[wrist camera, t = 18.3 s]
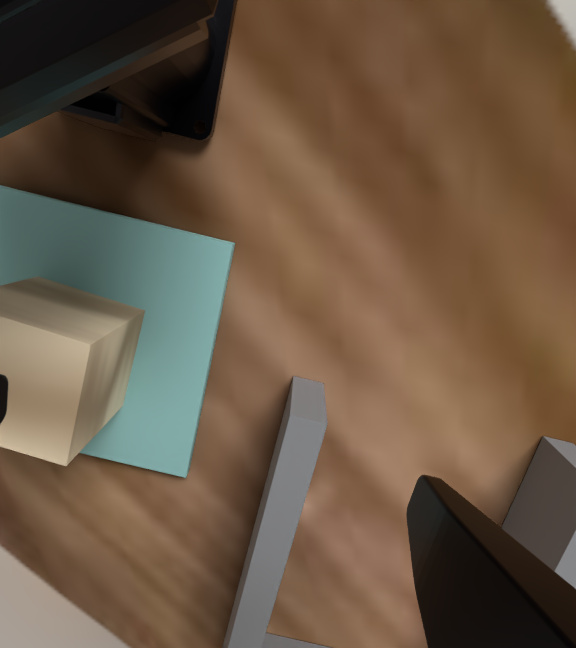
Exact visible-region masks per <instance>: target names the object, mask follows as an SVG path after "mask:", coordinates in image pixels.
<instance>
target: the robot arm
mask: <svg viewBox="0 0 576 648" xmlns="http://www.w3.org/2000/svg"><path fill="white" fill-rule="evenodd" d="M236 3H237V0H0V138H2V137H4V136H6V135H8V134H10V133H12V132H14V131H16V130H18V129H20V128H22V127H25V126H27V125H29V124H31V123H33V122H35V121H37V120H39V119H41V118H43V117H45V116H47V115H49V114H52V113H54V112H56V111H57V112H60V113H63V114H65V115H68V116H70V117H73V118H75V119H78V120H81V121H83V122H86V123H88V124H91V125H94V126H96V127H99V128H103V129H107V130H111V131H115V132H119V133H123V134H127V135H131V136H135V137H139V138H143V139H147V140H151V141H155V142H156V141H158V140H159V139H161V138H162V132H164V133H168V134H172V135H176V136H180V137H184V138H188V139H192V140H196V141H203V142H205V141H207V140H209V139H210V138H211V137H212V135H213V132H214V128H215V122H216V116H217V111H218V105H219V99H220V94H221V88H222V82H223V77H224V71H225V65H226V60H227V54H228V48H229V43H230V37H231V31H232V26H233V20H234V14H235V9H236ZM199 122H204V123H205V125H206V129H205V131H204V132H203V133H202V134H198V133H197V131H196V125H197V124H198V123H199ZM8 386H9V382H8V378H7V377H6V376H5V375H2V374H0V424H1V423H2V421H3V420H4V418H5V416H6V412H7V402H8ZM407 525H408V534H409V543H410V551H411V560H412V569H413V577H414V584H415V590H416V595H417V600H418V604H419V609H420V613H421V618H422V622H423V627H424V631H425V636H426V640H427V645H428V648H576V589H575V588H574V587H573V586H572V585H570V584H569V583H568V582H567V581H566V580H564V579H563V578H562V577H561V576H559V575H558V574H557V573H556V572H555V571H553V570H552V569H551V568H550V567H548V566H547V565H546V564H545V563H543V562H542V561H541V560H540V559H539V558H537V557H536V556H535V555H534V554H532V553H531V552H530V551H529V550H528V549H526V548H525V547H524V546H523V545H521V544H520V543H519V542H518V541H516V540H515V539H514V538H513V537H512V536H510V535H509V534H508V533H507V532H505V531H504V530H503V529H502V528H500V527H499V526H498V525H497V524H496V523H494V522H493V521H492V520H491V519H489V518H488V517H487V516H486V515H485V514H483V513H482V512H481V511H480V510H478V509H477V508H476V507H475V506H473V505H472V504H471V503H470V502H469V501H467V500H466V499H465V498H464V497H462V496H461V495H460V494H459V493H458V492H456V491H455V490H454V489H453V488H451V487H450V486H449V485H448V484H446V483H445V482H444V481H443V480H441V479H440V478H436V477H432V476H428V475H421V476H420V477H419V478H418V480H417V483H416V485H415V488H414V491H413V493H412V496H411V499H410V501H409V504H408V507H407Z"/></svg>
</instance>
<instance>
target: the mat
mask: <svg viewBox="0 0 576 648" xmlns="http://www.w3.org/2000/svg"><path fill="white" fill-rule="evenodd" d="M234 247H235V243H233V242H229V241H225V240H221V239H216V238H212V237H208V236H204V235H200V234H196V233H192V232H188V231H184V230H180V229H176V228H172V227H168V226H164V225H160V224H156V223H152V222H148V221H144V220H140V219H135V218H131V217H127V216H123V215H119V214H115V213H111V212H107V211H103V210H99V209H95V208H91V207H87V206H83V205H79V204H75V203H71V202H67V201H63V200H59V199H54V198H50V197H46V196H42V195H38V194H34V193H30V192H26V191H22V190H18V189H14V188H10V187H6V186H2V185H0V286H1V285H5V284H9V283H13V282H17V281H21V280H25V279H29V278H33V277H37V276H39V277H42V278H45V279H48V280H51V281H54V282H58V283H61V284H64V285H67V286H70V287H73V288H76V289H80V290H83V291H86V292H89V293H92V294H95V295H98V296H102V297H105V298H108V299H111V300H114V301H117V302H120V303H123V304H127V305H130V306H133V307H136V308H139V309H142V310H145V314H144V318H143V322H142V327H141V331H140V335H139V339H138V344H137V348H136V352H135V357H134V361H133V365H132V369H131V374H130V378H129V382H128V386H127V391H126V395H125V399H124V404H123V406H122V407H121V408H120V409H119V411H118V412H117V413H116V414H115V415H114V416H113V417H112V418H111V419H110V420H109V421H108V422H107V423H106V424H105V425H104V427H103V428H102V429H101V430H100V431H99V432H98V433H97V434H96V435H95V436H94V437H93V438H92V439H91V440H90V441H89V443H88V444H87V445H86V446H85V447H84V448H83V449H82V450H81V451H80V452H79V453H83V454H87V455H91V456H95V457H100V458H104V459H108V460H112V461H117V462H121V463H125V464H129V465H134V466H138V467H142V468H146V469H151V470H155V471H159V472H163V473H168V474H172V475H176V476H180V477H185V478H186V477H187V474H188V472H189V469H190V464H191V459H192V454H193V449H194V444H195V439H196V434H197V430H198V425H199V420H200V415H201V410H202V405H203V400H204V395H205V390H206V385H207V380H208V375H209V370H210V365H211V361H212V356H213V351H214V346H215V341H216V336H217V331H218V326H219V321H220V316H221V311H222V306H223V301H224V296H225V292H226V287H227V282H228V277H229V272H230V267H231V262H232V257H233V252H234Z"/></svg>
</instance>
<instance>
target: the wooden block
mask: <svg viewBox="0 0 576 648" xmlns="http://www.w3.org/2000/svg"><path fill="white" fill-rule="evenodd" d="M144 314H145V310H142V309H139V308H136V307H133V306H130V305H127V304H123V303H120V302H117V301H114V300H111V299H108V298H105V297H102V296H98V295H95V294H92V293H89V292H86V291H83V290H80V289H76V288H73V287H70V286H67V285H64V284H61V283H58V282H54V281H51V280H48V279H45V278H42V277H39V276H37V277H33V278H29V279H25V280H21V281H17V282H13V283H9V284H5V285H1V286H0V374H2V375H5V376H6V377H7V378H8V382H9V386H8V402H7V412H6V416H5V418H4V420H3V421H2V423H1V424H0V447H4V448H7V449H10V450H13V451H17V452H20V453H23V454H27V455H30V456H33V457H37V458H40V459H43V460H47V461H50V462H53V463H57V464H60V465H63V466H67V465H68V464H69V463H70V462H71V461H72V460H73V459H74V457H75V456H76V455H77V454H78V453H79V452H80V451H81V450H82V449H83V448H84V447H85V446H86V445H87V444H88V443H89V441H90V440H91V439H92V438H93V437H94V436H95V435H96V434H97V433H98V432H99V431H100V430H101V429H102V428H103V427H104V425H105V424H106V423H107V422H108V421H109V420H110V419H111V418H112V417H113V416H114V415H115V414H116V413H117V412H118V411H119V409H120V408H121V407H122V406H123V404H124V399H125V395H126V391H127V386H128V382H129V378H130V374H131V369H132V365H133V361H134V357H135V352H136V348H137V344H138V339H139V335H140V331H141V327H142V322H143V318H144Z"/></svg>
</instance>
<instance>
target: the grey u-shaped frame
mask: <svg viewBox="0 0 576 648" xmlns="http://www.w3.org/2000/svg"><path fill="white" fill-rule="evenodd" d="M326 427H327V414H326V403H325V392H324V383H321V382H316V381H312V380H308V379H304V378H300V377H296V376H293V380H292V383H291V387H290V391H289V395H288V399H287V402H286V406H285V410H284V414H283V418H282V422H281V425H280V429H279V433H278V437H277V441H276V444H275V448H274V452H273V456H272V460H271V463H270V467H269V471H268V475H267V479H266V483H265V486H264V490H263V494H262V498H261V502H260V505H259V509H258V513H257V517H256V521H255V524H254V528H253V532H252V536H251V540H250V544H249V547H248V551H247V555H246V559H245V563H244V566H243V570H242V574H241V578H240V582H239V585H238V589H237V593H236V597H235V601H234V605H233V608H232V612H231V616H230V620H229V624H228V627H227V631H226V635H225V639H224V643H223V648H330V647H326V646H321V645H317V644H313V643H308V642H304V641H300V640H295V639H291V638H286V637H282V636H278V635H273V634H269V633H266V630H267V627H268V623H269V620H270V616H271V613H272V610H273V606H274V603H275V600H276V596H277V593H278V589H279V586H280V583H281V579H282V576H283V573H284V569H285V566H286V562H287V559H288V556H289V552H290V549H291V546H292V542H293V539H294V535H295V532H296V529H297V525H298V522H299V518H300V515H301V512H302V508H303V505H304V502H305V498H306V495H307V491H308V488H309V485H310V481H311V478H312V475H313V471H314V468H315V464H316V461H317V458H318V454H319V451H320V448H321V444H322V441H323V437H324V434H325V431H326ZM501 528H502V529H503V530H504V531H505V532H507V533H508V534H509V535H510V536H512V537H513V538H514V539H515V540H516V541H518V542H519V543H520V544H521V545H523V546H524V547H525V548H526V549H528V550H529V551H530V552H531V553H532V554H534V555H535V556H536V557H537V558H539V559H540V560H541V561H542V562H543V563H545V564H546V565H547V566H548V567H550V568H551V569H552V570H553V571H555V572H556V573H557V574H558V575H559V576H561V577H562V578H563V579H564V580H566V581H567V582H568V583H569V584H570V585H572V586H573V587H574V588H575V589H576V446H575V445H574V444H573V443H569V442H565V441H561V440H557V439H553V438H548V437H544V436H543V437H542V439H541V442H540V444H539V446H538V448H537V450H536V453H535V455H534V457H533V459H532V461H531V463H530V466H529V468H528V470H527V472H526V474H525V477H524V479H523V481H522V483H521V485H520V488H519V490H518V492H517V494H516V496H515V499H514V501H513V503H512V505H511V507H510V510H509V512H508V514H507V516H506V518H505V521H504V523H503V525H502V527H501Z"/></svg>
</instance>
